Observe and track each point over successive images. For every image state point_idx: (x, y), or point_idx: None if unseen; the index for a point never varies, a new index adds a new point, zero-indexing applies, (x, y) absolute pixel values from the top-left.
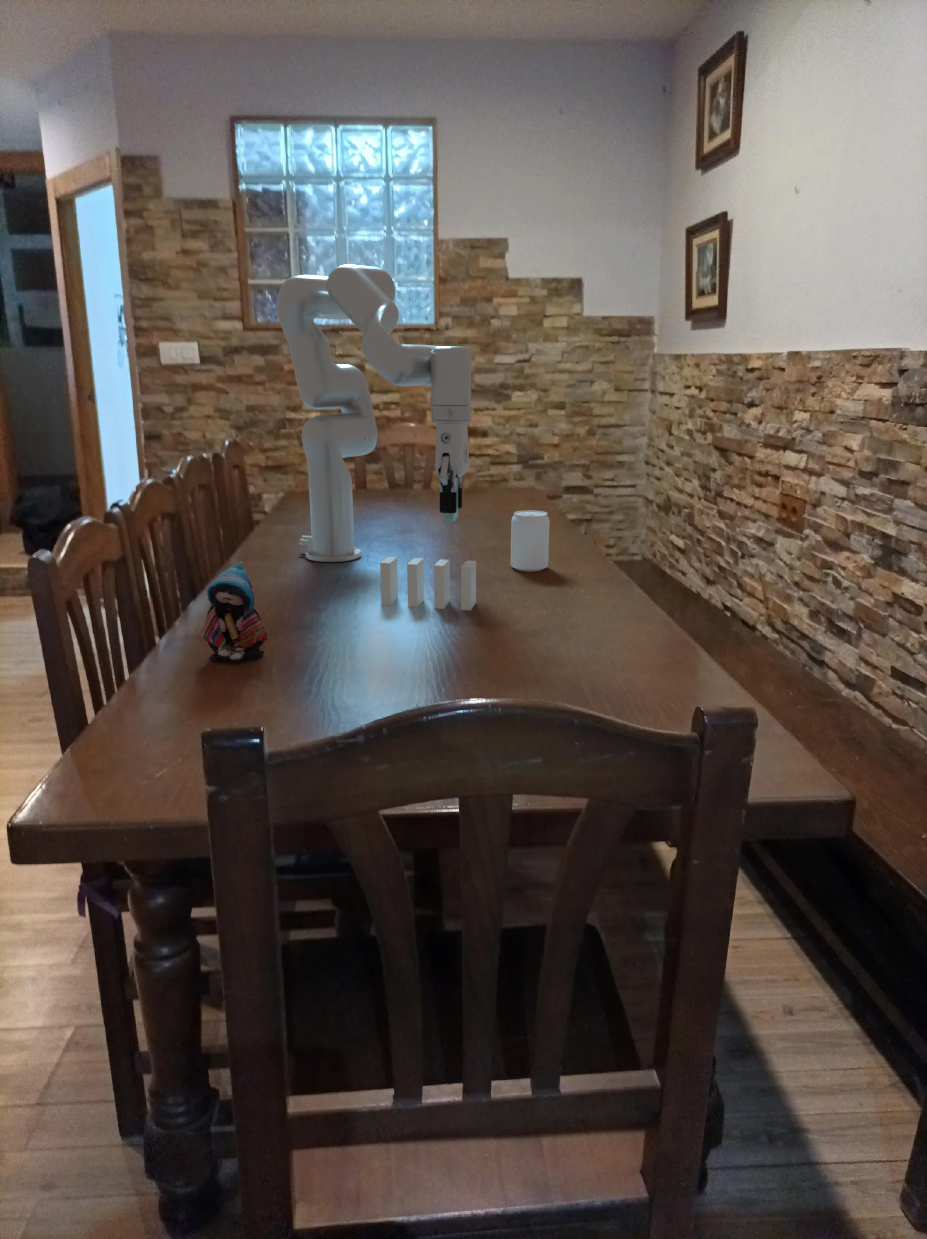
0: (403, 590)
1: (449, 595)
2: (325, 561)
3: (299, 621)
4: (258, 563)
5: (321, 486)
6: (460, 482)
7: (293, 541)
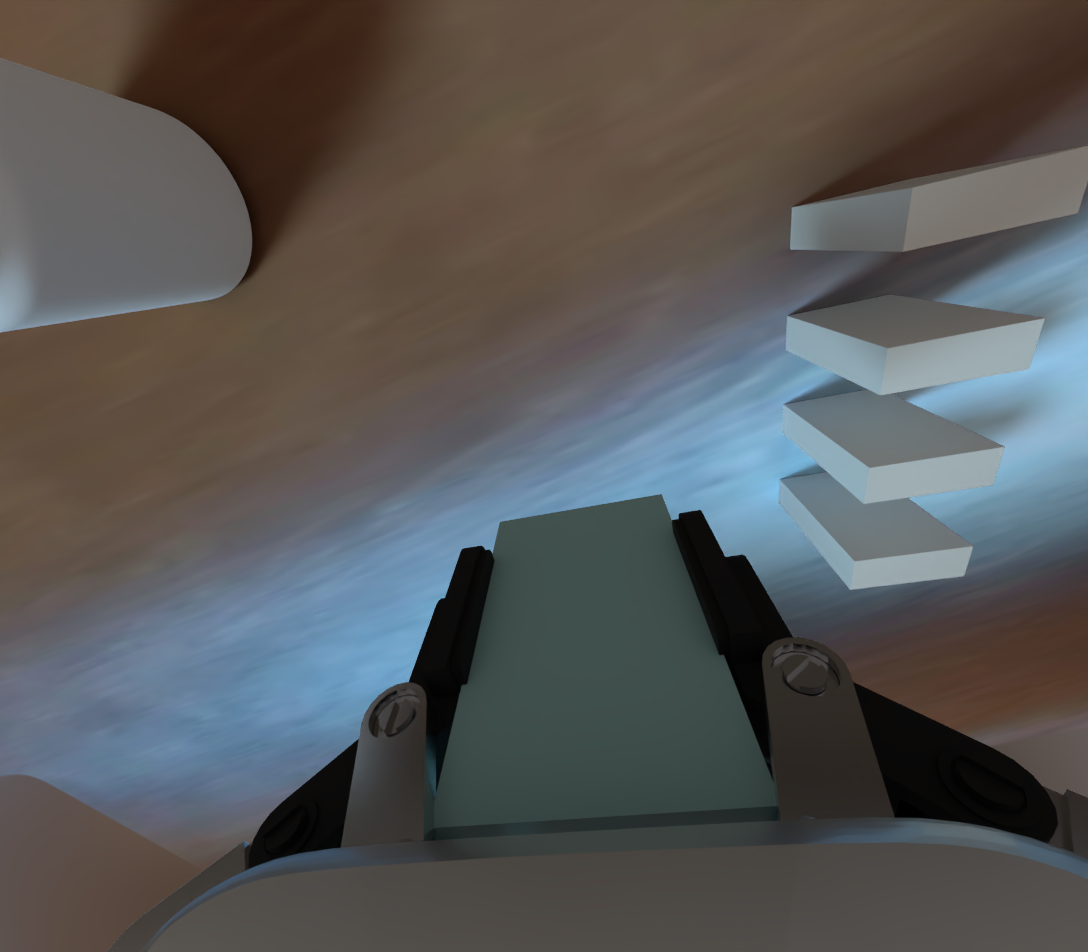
0: (684, 500)
1: (802, 318)
2: None
3: (1033, 591)
4: None
5: None
6: (425, 735)
7: None
